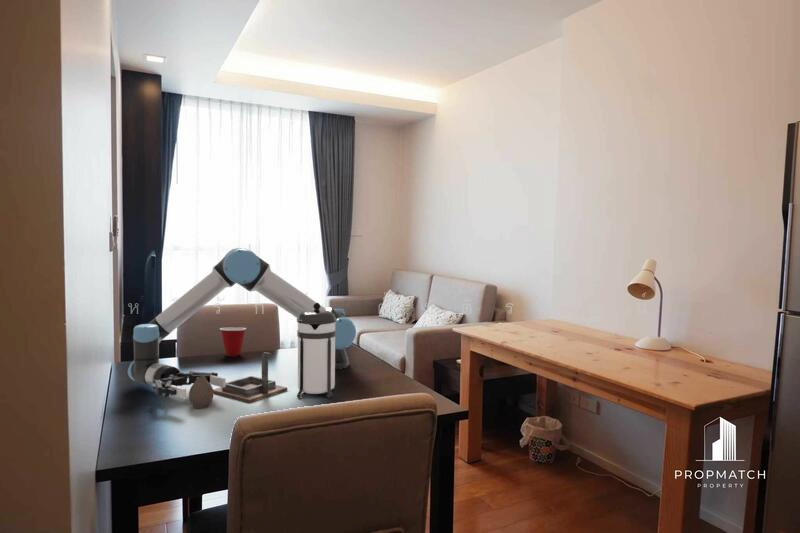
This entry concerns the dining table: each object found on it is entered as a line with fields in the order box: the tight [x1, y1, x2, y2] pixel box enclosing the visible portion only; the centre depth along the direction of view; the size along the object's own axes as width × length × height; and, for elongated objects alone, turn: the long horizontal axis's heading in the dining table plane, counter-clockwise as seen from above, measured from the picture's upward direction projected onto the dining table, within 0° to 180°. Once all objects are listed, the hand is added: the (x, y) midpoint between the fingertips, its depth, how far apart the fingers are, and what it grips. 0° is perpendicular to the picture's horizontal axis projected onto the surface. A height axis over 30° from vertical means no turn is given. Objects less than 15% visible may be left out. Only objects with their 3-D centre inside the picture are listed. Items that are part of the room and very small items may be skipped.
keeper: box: [213, 351, 288, 404], centre depth 168 cm, size 16×18×14 cm
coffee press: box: [296, 302, 337, 400], centre depth 168 cm, size 17×16×30 cm
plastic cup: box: [219, 326, 247, 357], centre depth 221 cm, size 11×11×12 cm
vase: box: [188, 377, 214, 409], centre depth 153 cm, size 7×7×9 cm
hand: (205, 388), depth 152 cm, fingers open, 13 cm apart
